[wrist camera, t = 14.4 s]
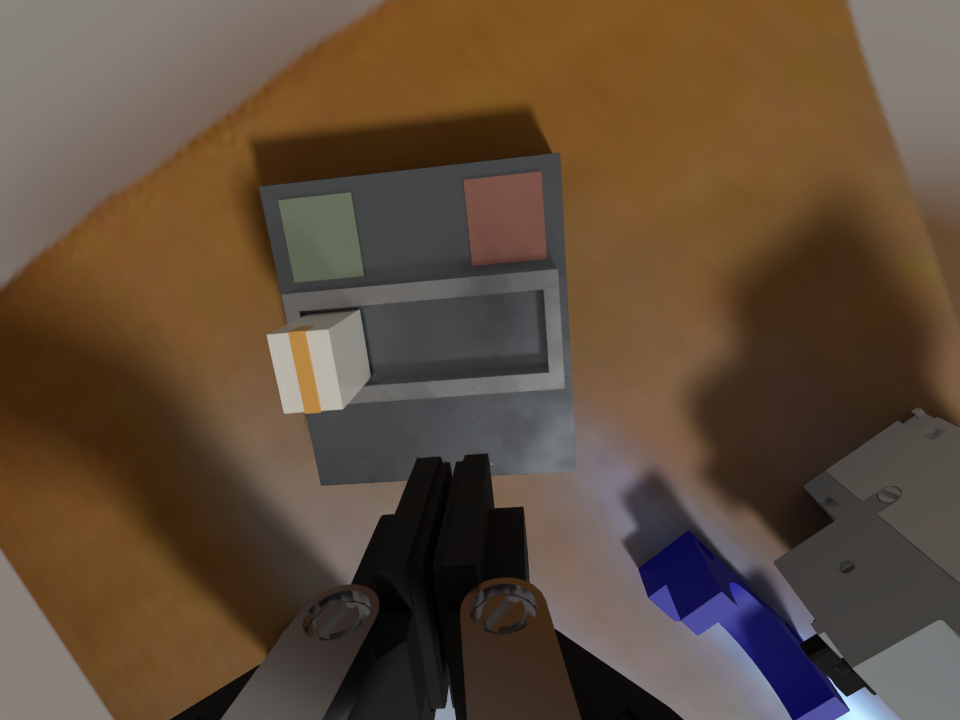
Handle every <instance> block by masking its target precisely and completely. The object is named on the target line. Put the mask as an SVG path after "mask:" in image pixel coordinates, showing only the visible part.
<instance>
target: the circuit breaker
mask: <svg viewBox="0 0 960 720" xmlns="http://www.w3.org/2000/svg"><path fill="white" fill-rule="evenodd" d="M911 412H912V413H913V415H914V416H913V417H912V418H910V419H909V420H907V421H906V422H904V423H901V422H899V421H896V422H895V423H893V424H892V425H891V426H889V427H888V428H886V429H885V430H883V431H882V432H880V433H879V434H877V435H876V436H875V437H873V438H872V439H870V440H869V441H867V442H866V443H864V444H863V445H862V446H860V447H859V448H857V449H856V450H854V451H853V452H851V453H850V454H848V455H847V456H846V457H844V458H843V459H841V460H840V461H838V462H837V463H835V464H834V465H833V466H831V467H830V468H828V469H827V470H825V471H826V472H827V473H826V472H825V471H824V472H822V473H821V474H820V475H818V476H817V477H815V478H814V479H812V480H811V481H809V482H808V483H807V484H805V485H804V488H805V489H806V490H807V492H808V493H809V494H810V495H811V496H812V497H813V498H814V499H815V500H816V502H817V503H818V504H819V505H820V506H821V507H822V508H823V509H824V510H825V511H826V513H827V514H828V515H829V516H830V517H831V518H832V519H833V520H834V522H833V523H831V524H830V525H828V526H827V527H825V528H824V529H822V530H821V531H819V532H818V533H816V534H815V535H813V536H812V537H810V538H809V539H807V540H806V541H804V542H803V543H801V544H799V545H798V546H796V547H795V548H793V549H792V550H790V551H789V552H787V553H786V554H784V555H783V556H781V557H780V558H778V559H777V560H775V561H774V564H775V565H776V567H777V568H778V569H779V571H780V572H781V574H782V575H783V576H784V578H785V579H786V580H787V582H788V583H789V584H790V586H791V587H792V589H793V590H794V591H795V593H796V594H797V595H798V597H799V598H800V599H801V601H802V602H803V603H804V605H805V606H806V608H807V609H808V610H809V612H810V613H811V614H812V616H813V617H814V618H815V620H814V621H813V623H811V625H812V627H813V628H814V630H815V631H816V632H817V634H815V635H814V636H812V637H810V638H809V639H807V640H805V641H804V642H802V643H800V647H801V648H802V650H803V651H804V652H805V654H806V655H807V656H808V658H809V659H810V660H811V661H812V662H813V663H814V664H815V665H816V666H817V667H819V668H820V669H821V670H822V671H823V672H824V673H825V674H826V675H827V676H828V677H829V678H830V679H831V680H832V681H833V683H834V684H835V686H836V687H837V688H838V689H839V690H840V691H841V692H842V693H843V694H844V695H845V696H846V697H847V696H849V695H851V694H853V693H854V692H856V691H858V690H860V689H861V688H863V687H866V688H867V689H868V690H869V691H870V692H871V693H872V694H873V695H876V694H877V695H878V696H879V697H880V698H881V699H882V700H883V701H884V702H885V703H886V704H887V705H888V706H889V707H890V708H891V709H892V710H893V711H894V712H895V713H896V714H897V715H898V716H899V717H900V718H901V719H902V720H960V428H959V427H957V426H955V425H953V424H951V423H949V422H947V421H945V420H943V419H941V418H939V417H936V418H933V417H931V416H929V415H927V414H926V413H925V412H924V411H923V410H922V409H920V408H918V407H917V408H915V409H914V410H912V411H911Z"/></svg>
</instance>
